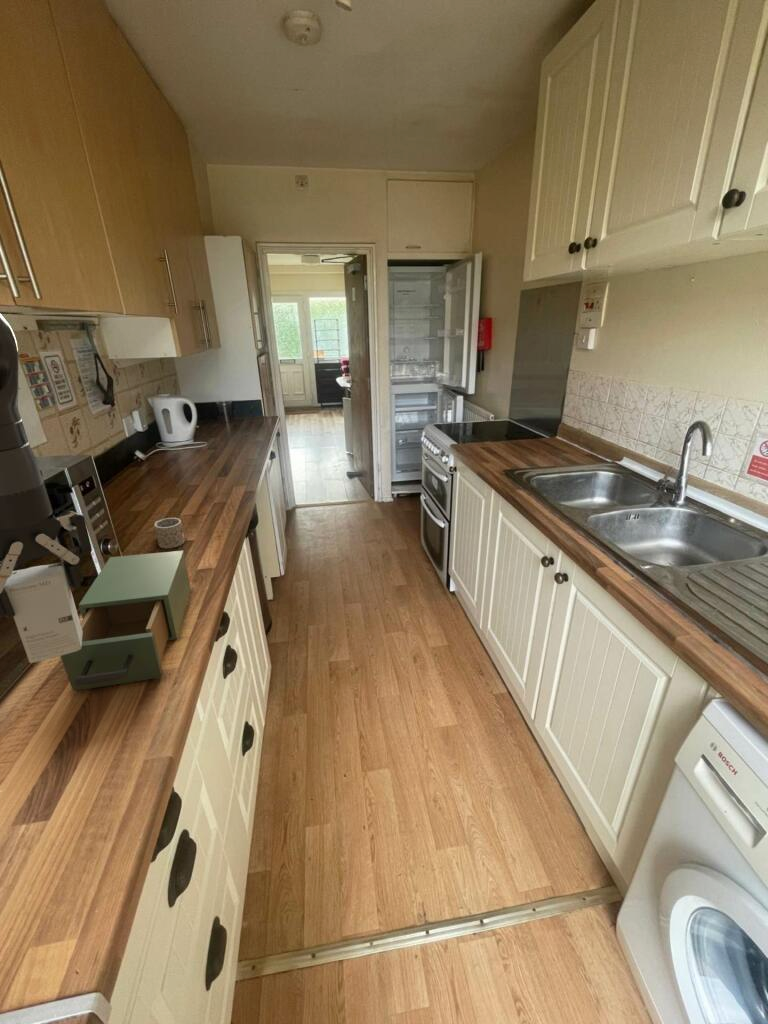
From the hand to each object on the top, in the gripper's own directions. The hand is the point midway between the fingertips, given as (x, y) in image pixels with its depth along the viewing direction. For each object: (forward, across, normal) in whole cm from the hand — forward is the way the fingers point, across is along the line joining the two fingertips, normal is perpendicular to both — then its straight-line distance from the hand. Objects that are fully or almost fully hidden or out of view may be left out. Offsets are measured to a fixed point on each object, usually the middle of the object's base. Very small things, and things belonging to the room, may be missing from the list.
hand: (43, 600), depth 57 cm
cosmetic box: (+8, 0, 0) cm, 8 cm away
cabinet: (+24, -21, -17) cm, 36 cm away
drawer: (+23, -11, -8) cm, 26 cm away
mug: (+24, -45, -44) cm, 67 cm away
